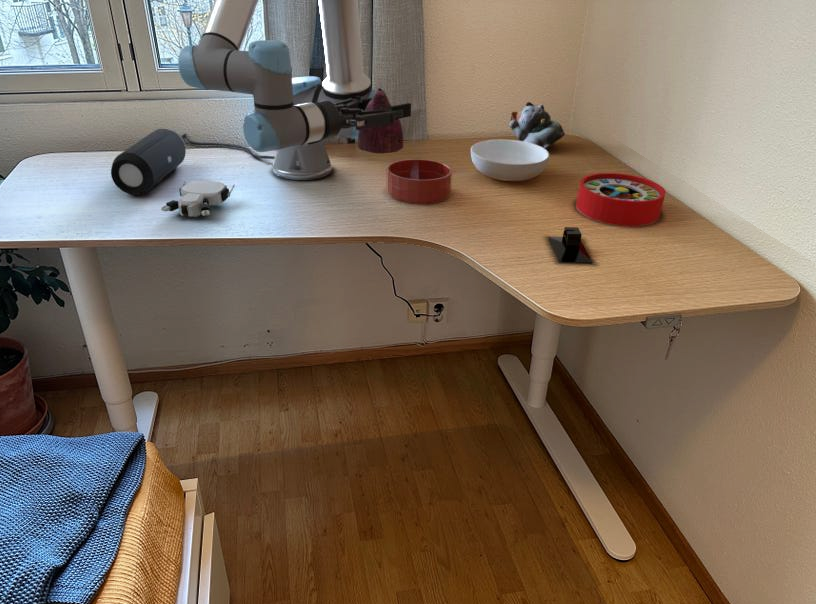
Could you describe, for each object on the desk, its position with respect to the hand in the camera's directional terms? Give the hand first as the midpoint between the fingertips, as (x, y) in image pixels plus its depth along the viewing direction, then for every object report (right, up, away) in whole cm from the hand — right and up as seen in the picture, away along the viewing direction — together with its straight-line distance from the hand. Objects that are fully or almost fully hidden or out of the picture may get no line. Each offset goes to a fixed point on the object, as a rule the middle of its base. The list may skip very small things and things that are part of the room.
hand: (397, 105), depth 149 cm
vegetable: (-4, -9, +2) cm, 10 cm away
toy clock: (+54, -21, +12) cm, 59 cm away
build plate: (+37, -34, -9) cm, 51 cm away
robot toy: (-45, -23, +2) cm, 51 cm away
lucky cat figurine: (+41, +8, +53) cm, 67 cm away
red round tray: (+5, -16, +16) cm, 23 cm away
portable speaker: (-62, -12, +17) cm, 65 cm away
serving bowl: (+29, -8, +30) cm, 42 cm away
